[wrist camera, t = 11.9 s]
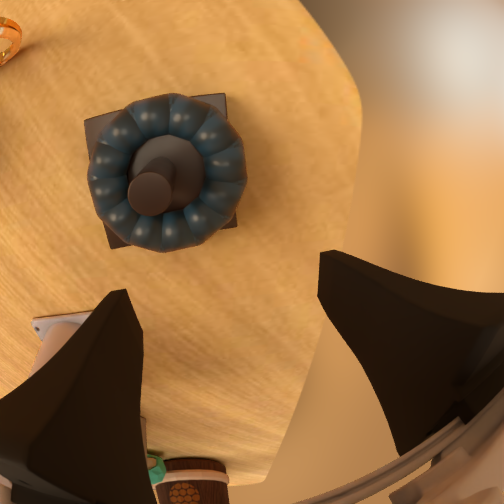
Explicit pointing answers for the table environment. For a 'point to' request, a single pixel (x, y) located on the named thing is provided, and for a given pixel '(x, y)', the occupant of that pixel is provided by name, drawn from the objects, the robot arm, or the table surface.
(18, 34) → the ring
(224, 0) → the table surface
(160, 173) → the peg stand
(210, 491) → the mug
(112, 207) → the ring
